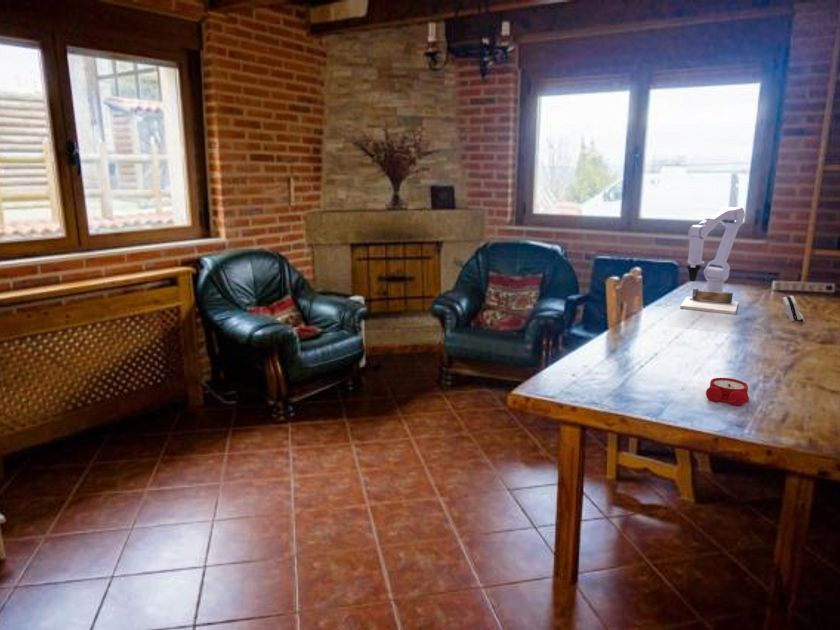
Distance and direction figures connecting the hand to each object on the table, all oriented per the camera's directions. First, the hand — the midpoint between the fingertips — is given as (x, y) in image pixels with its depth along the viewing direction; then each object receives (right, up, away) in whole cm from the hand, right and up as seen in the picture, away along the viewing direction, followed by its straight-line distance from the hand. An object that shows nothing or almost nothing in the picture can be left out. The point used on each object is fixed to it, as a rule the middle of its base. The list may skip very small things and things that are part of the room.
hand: (692, 281), depth 278 cm
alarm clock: (-42, -39, -114) cm, 128 cm away
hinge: (+32, -17, -23) cm, 42 cm away
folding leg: (+9, -9, 0) cm, 13 cm away
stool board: (+6, -12, -4) cm, 14 cm away
